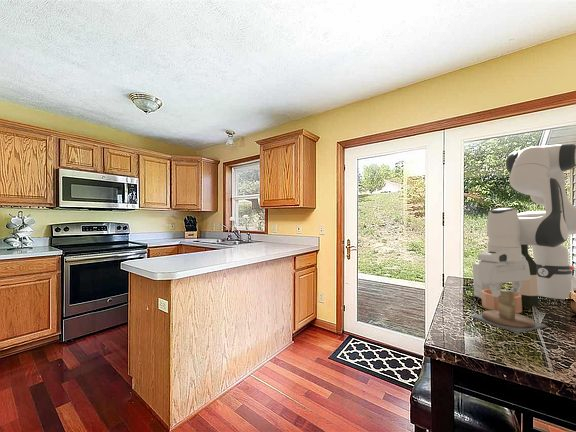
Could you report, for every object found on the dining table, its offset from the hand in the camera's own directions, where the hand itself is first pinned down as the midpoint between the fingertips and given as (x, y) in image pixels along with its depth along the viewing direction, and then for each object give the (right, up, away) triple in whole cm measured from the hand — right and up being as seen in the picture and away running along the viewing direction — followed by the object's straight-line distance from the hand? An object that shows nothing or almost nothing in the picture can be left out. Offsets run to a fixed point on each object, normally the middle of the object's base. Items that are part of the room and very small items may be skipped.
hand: (506, 295), depth 87 cm
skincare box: (+15, -10, +28) cm, 33 cm away
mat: (0, -9, 0) cm, 9 cm away
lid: (0, -9, 0) cm, 8 cm away
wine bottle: (+24, -10, +19) cm, 32 cm away
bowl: (+9, -9, +13) cm, 19 cm away
